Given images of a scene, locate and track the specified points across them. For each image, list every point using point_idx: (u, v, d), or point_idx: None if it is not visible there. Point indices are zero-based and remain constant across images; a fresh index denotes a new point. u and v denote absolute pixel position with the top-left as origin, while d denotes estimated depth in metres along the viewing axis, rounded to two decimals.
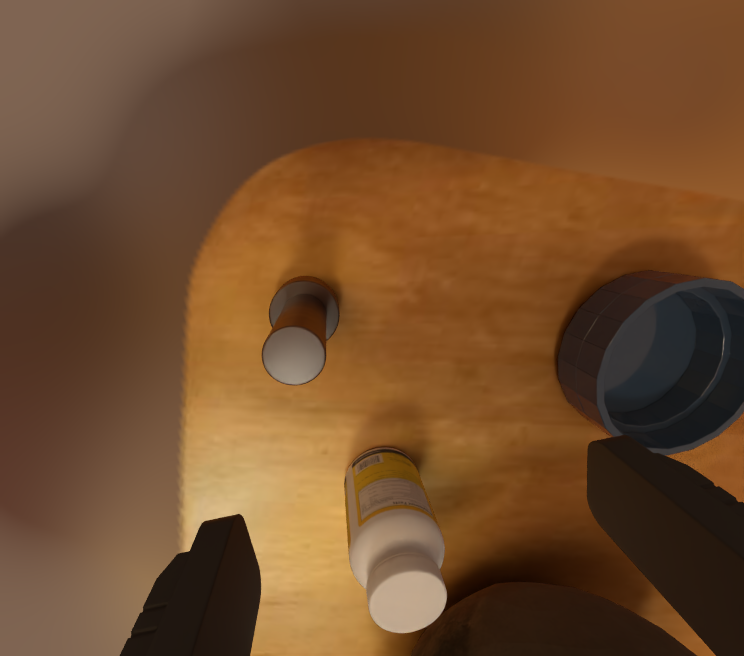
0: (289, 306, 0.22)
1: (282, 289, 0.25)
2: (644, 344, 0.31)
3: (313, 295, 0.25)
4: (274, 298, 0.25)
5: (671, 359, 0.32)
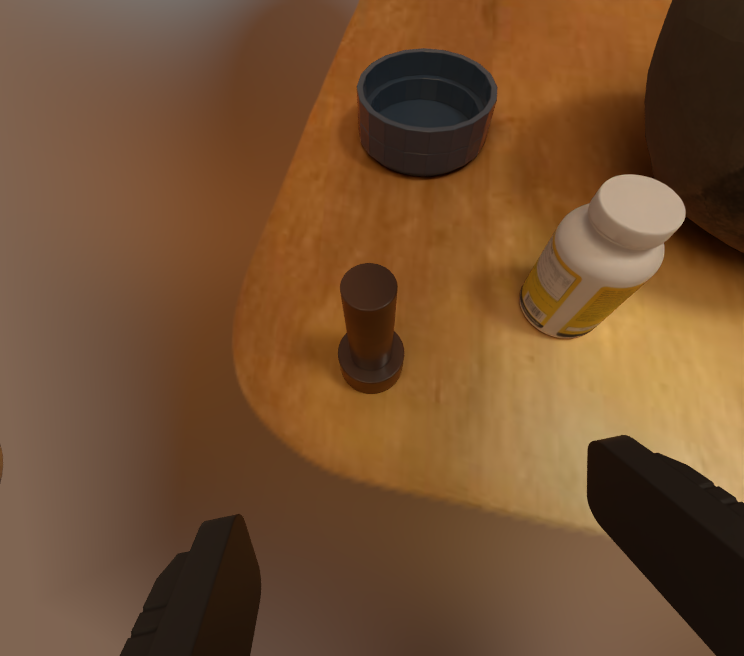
0: (348, 337, 0.24)
1: (344, 368, 0.26)
2: (415, 125, 0.41)
3: None
4: (352, 376, 0.26)
5: (428, 110, 0.42)
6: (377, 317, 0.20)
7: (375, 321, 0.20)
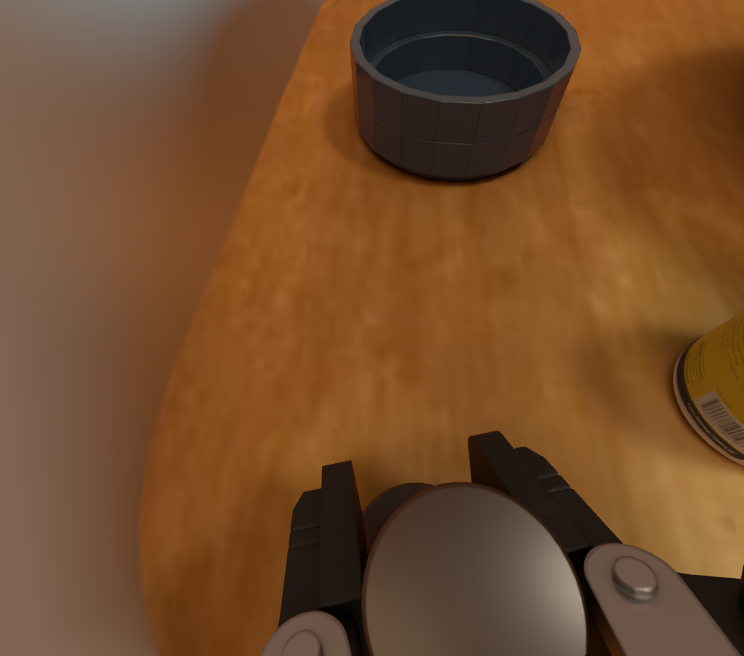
0: None
1: None
2: None
3: None
4: None
5: (456, 82, 0.29)
6: None
7: None
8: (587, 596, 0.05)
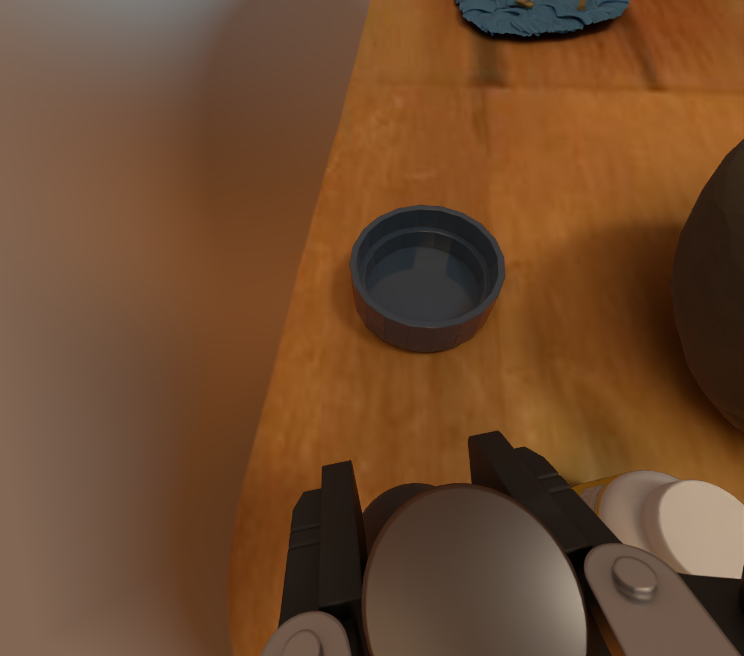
0: None
1: None
2: (415, 283, 0.38)
3: None
4: None
5: (427, 260, 0.39)
6: None
7: None
8: (587, 596, 0.05)
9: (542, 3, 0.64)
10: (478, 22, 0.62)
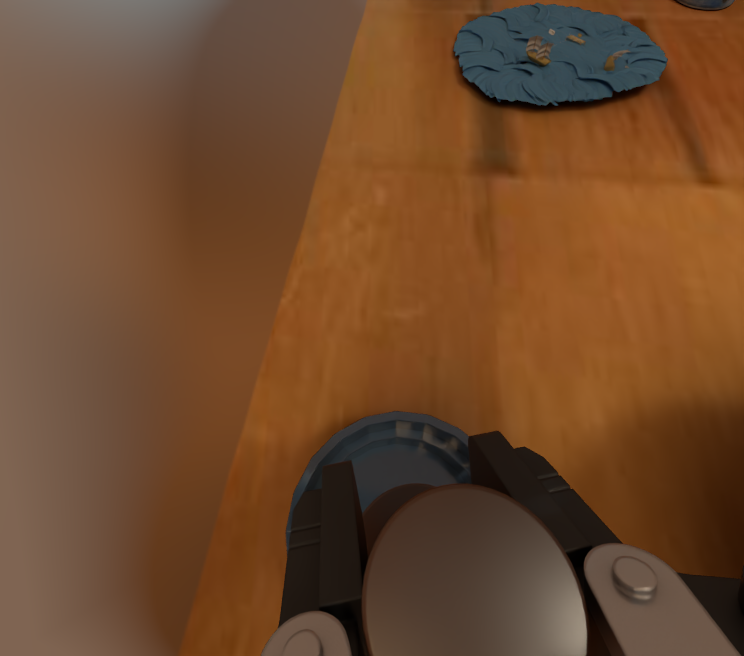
0: None
1: None
2: None
3: None
4: None
5: (409, 471, 0.28)
6: None
7: None
8: (587, 596, 0.05)
9: (560, 59, 0.52)
10: (481, 85, 0.50)
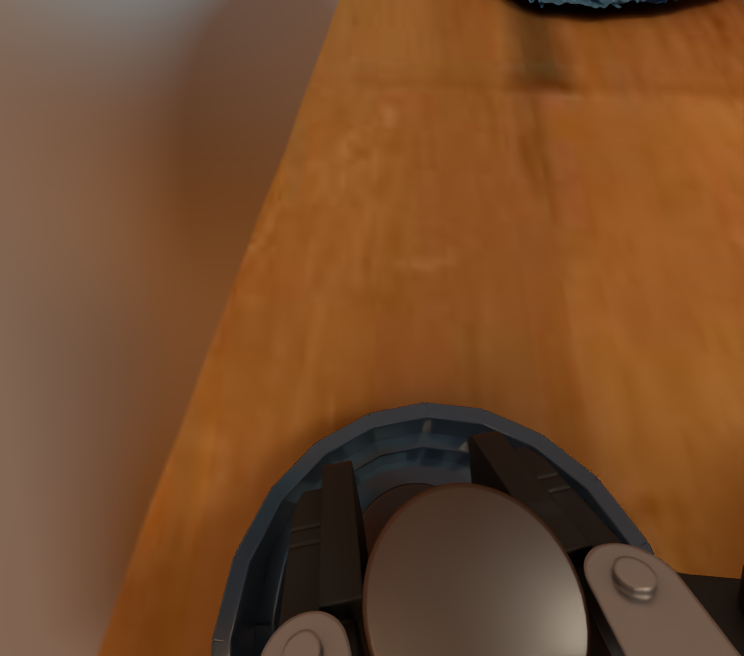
0: None
1: None
2: None
3: None
4: None
5: None
6: None
7: None
8: (587, 596, 0.05)
9: None
10: None
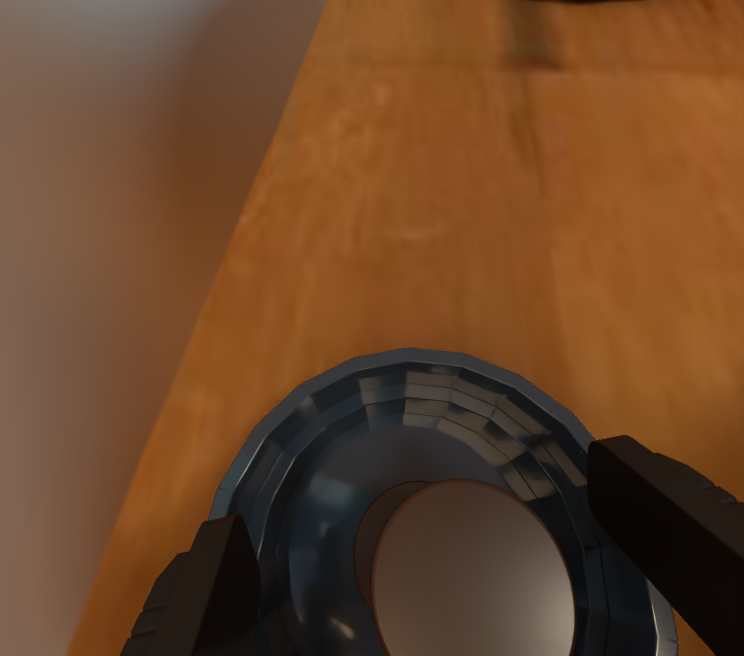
0: None
1: (370, 604, 0.12)
2: None
3: None
4: None
5: (427, 455, 0.17)
6: None
7: None
8: None
9: None
10: None
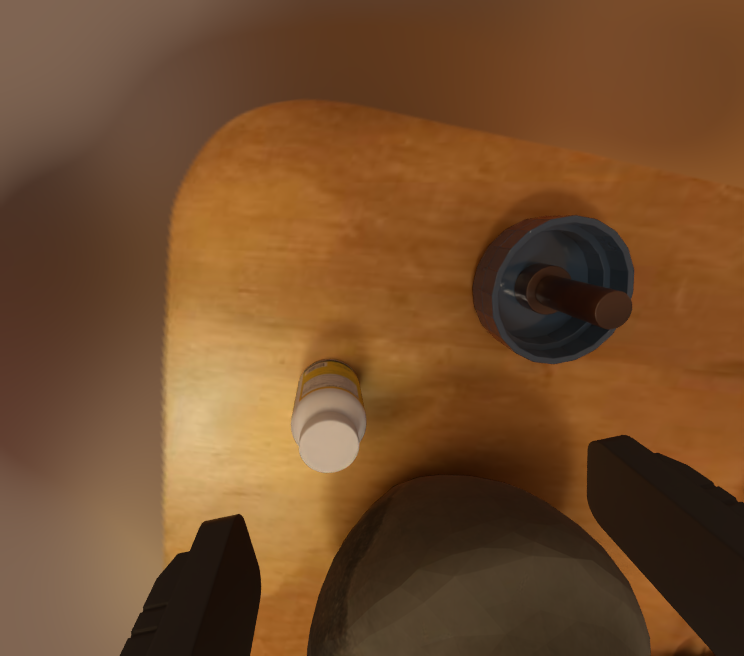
0: (568, 282, 0.32)
1: (539, 271, 0.36)
2: None
3: (559, 276, 0.36)
4: (532, 278, 0.36)
5: None
6: (588, 314, 0.29)
7: (584, 312, 0.29)
8: None
9: None
10: None
